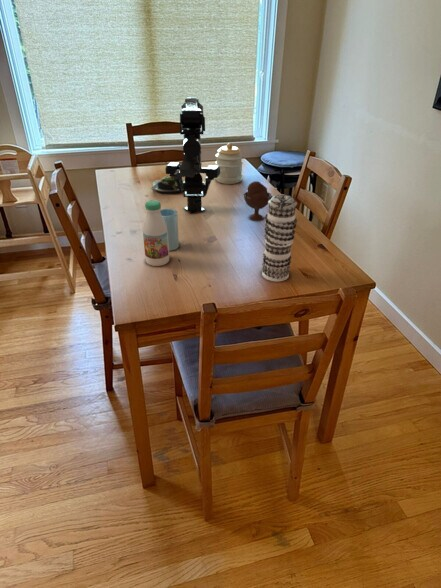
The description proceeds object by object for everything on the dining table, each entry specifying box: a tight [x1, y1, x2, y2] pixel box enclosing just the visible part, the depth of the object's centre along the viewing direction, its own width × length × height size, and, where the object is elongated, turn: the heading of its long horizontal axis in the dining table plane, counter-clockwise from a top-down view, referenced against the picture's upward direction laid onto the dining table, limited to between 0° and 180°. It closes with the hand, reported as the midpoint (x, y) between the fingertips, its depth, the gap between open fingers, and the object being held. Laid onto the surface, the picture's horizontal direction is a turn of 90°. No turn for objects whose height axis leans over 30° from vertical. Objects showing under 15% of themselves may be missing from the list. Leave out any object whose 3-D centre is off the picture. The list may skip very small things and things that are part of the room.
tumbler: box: [160, 208, 180, 252], centre depth 138 cm, size 7×7×12 cm
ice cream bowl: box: [243, 180, 273, 222], centre depth 158 cm, size 11×11×15 cm
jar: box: [215, 142, 244, 185], centre depth 195 cm, size 13×13×18 cm
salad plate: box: [150, 175, 186, 195], centre depth 190 cm, size 19×18×5 cm
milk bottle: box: [142, 199, 170, 267], centre depth 127 cm, size 8×8×20 cm
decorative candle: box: [261, 193, 298, 283], centre depth 120 cm, size 9×9×25 cm
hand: (193, 193), depth 148 cm, fingers open, 9 cm apart
